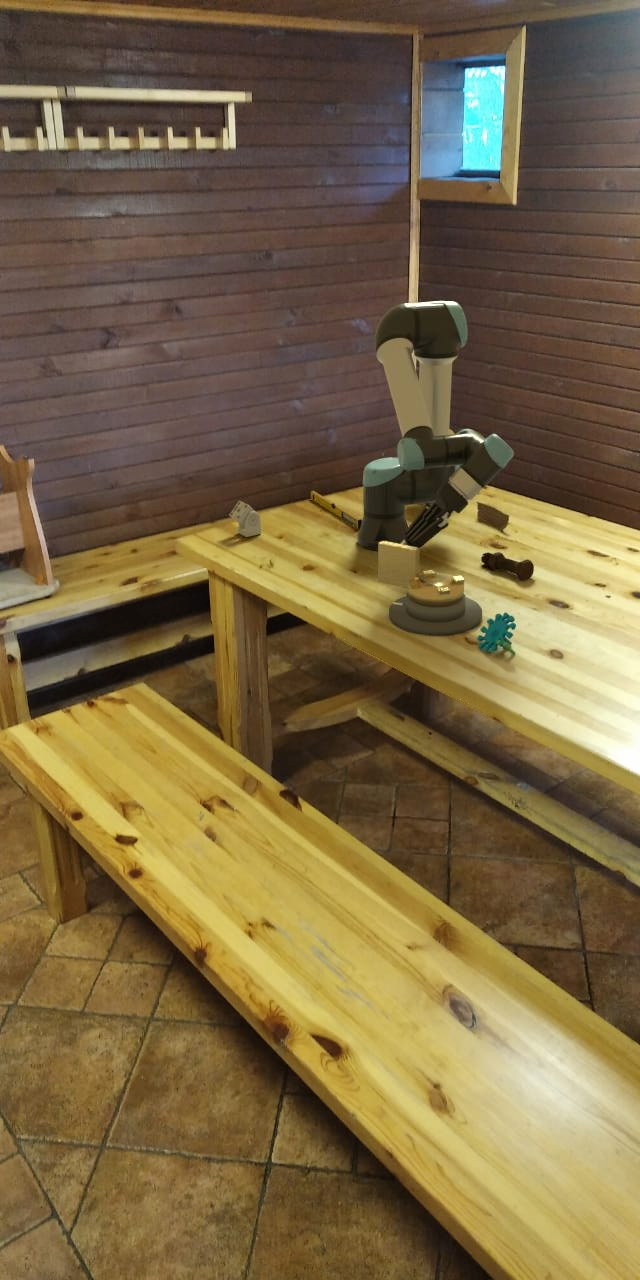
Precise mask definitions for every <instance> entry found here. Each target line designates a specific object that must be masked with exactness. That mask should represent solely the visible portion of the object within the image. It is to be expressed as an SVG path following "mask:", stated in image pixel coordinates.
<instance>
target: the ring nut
mask: <svg viewBox="0 0 640 1280" xmlns="http://www.w3.org/2000/svg"><path fill="white" fill-rule="evenodd" d="M420 549H421V548H418V547H413V546H408V545H402V544H397V543H392V542H387V541H381V542H379V543H378V550H377V552H378V553H377V556H378V557H377V559H378V561H377V563H378V564H377V565H378V566H377V569H378V571H377V572H378V574H377V579H378V583H381V584H385V585H390V586H394V587H397V588H398V587H400V588H404V589H407V593H408V597H409V599H410V600H411V601H413V602H415V603H417V604H420V605H425V606H433V607H441V606H449V605H453V604H456V603H458V602H460V601H461V600H462V599H463V597H464V594H465V578H464V577H463V576H462V575H457V576H456V575H453V574H448V573H439V572H436V573H435V570H434V569H428V570H422V573H421V574H420V552H421V551H420Z"/></svg>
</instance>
